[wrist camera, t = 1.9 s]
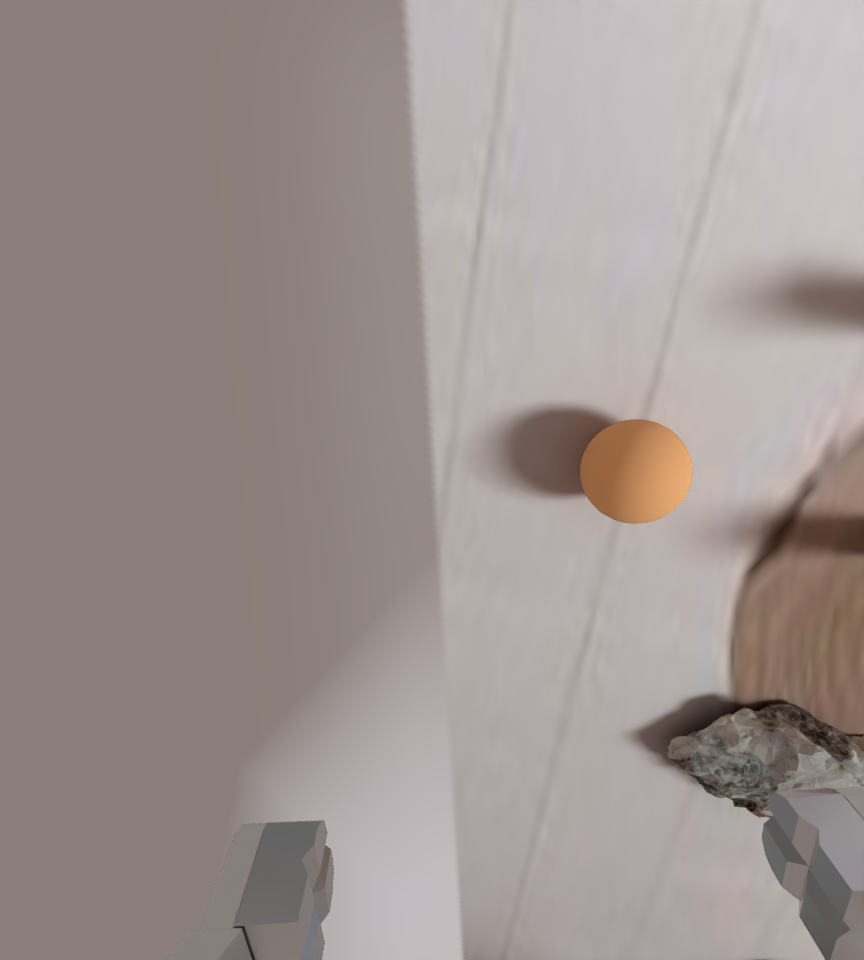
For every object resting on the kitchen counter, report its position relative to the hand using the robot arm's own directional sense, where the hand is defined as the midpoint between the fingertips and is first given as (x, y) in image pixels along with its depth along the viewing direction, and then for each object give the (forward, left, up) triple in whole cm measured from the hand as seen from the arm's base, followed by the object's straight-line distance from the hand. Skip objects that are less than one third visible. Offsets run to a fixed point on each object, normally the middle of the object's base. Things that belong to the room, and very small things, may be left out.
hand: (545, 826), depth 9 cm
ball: (+1, -8, -16) cm, 18 cm away
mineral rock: (-20, -19, -19) cm, 34 cm away
